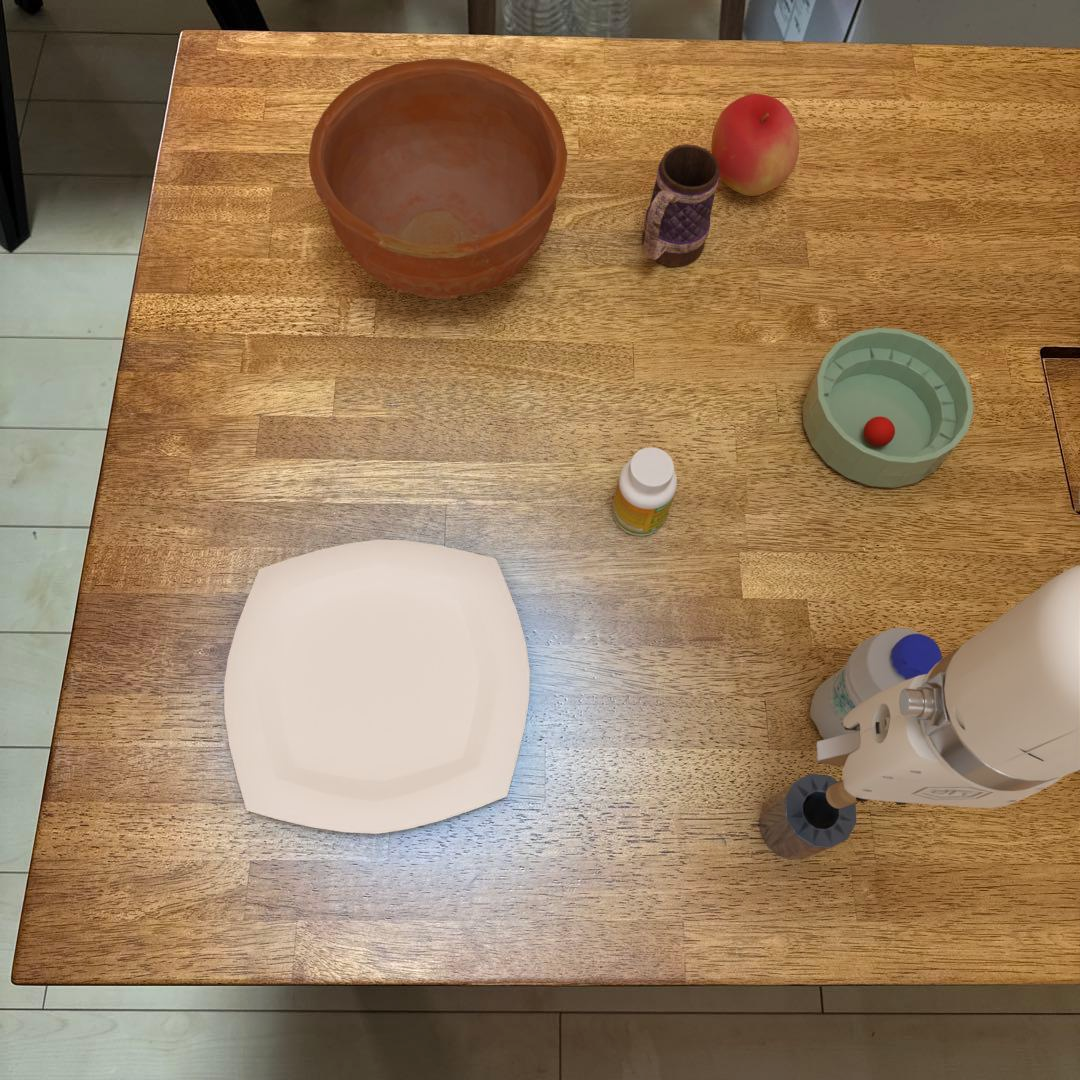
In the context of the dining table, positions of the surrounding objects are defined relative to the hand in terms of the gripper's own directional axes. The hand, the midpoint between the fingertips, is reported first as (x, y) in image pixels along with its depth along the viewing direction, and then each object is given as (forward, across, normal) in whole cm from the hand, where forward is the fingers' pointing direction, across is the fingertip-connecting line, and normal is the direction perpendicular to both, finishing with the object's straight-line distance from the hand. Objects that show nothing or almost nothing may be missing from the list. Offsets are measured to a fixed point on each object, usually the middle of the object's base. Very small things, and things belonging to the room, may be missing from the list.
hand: (878, 779), depth 68 cm
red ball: (+20, +10, +39) cm, 45 cm away
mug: (+23, -12, +61) cm, 66 cm away
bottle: (+23, +5, +10) cm, 25 cm away
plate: (+23, -37, +10) cm, 45 cm away
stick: (+9, 0, 0) cm, 9 cm away
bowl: (+23, -36, +59) cm, 73 cm away
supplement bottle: (+23, -14, +29) cm, 39 cm away
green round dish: (+23, +10, +41) cm, 48 cm away
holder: (+23, 0, 0) cm, 23 cm away
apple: (+23, -3, +72) cm, 76 cm away
